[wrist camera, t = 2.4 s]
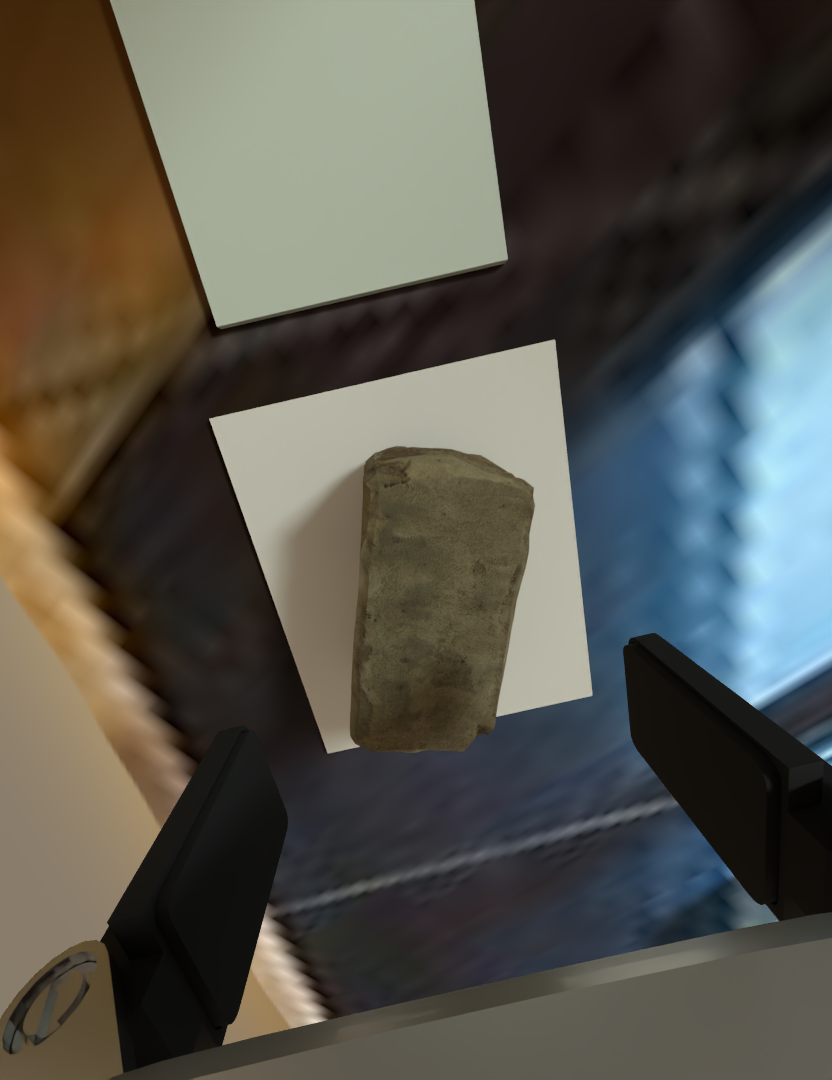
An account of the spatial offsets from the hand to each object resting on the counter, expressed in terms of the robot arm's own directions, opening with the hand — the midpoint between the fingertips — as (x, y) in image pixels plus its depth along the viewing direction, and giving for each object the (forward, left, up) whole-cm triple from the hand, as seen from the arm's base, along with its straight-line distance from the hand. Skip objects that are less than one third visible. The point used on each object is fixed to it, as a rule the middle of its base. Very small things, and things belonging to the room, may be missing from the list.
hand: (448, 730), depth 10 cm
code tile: (-1, 0, -9) cm, 9 cm away
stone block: (-1, 0, -9) cm, 9 cm away
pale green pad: (-19, 0, -9) cm, 21 cm away
